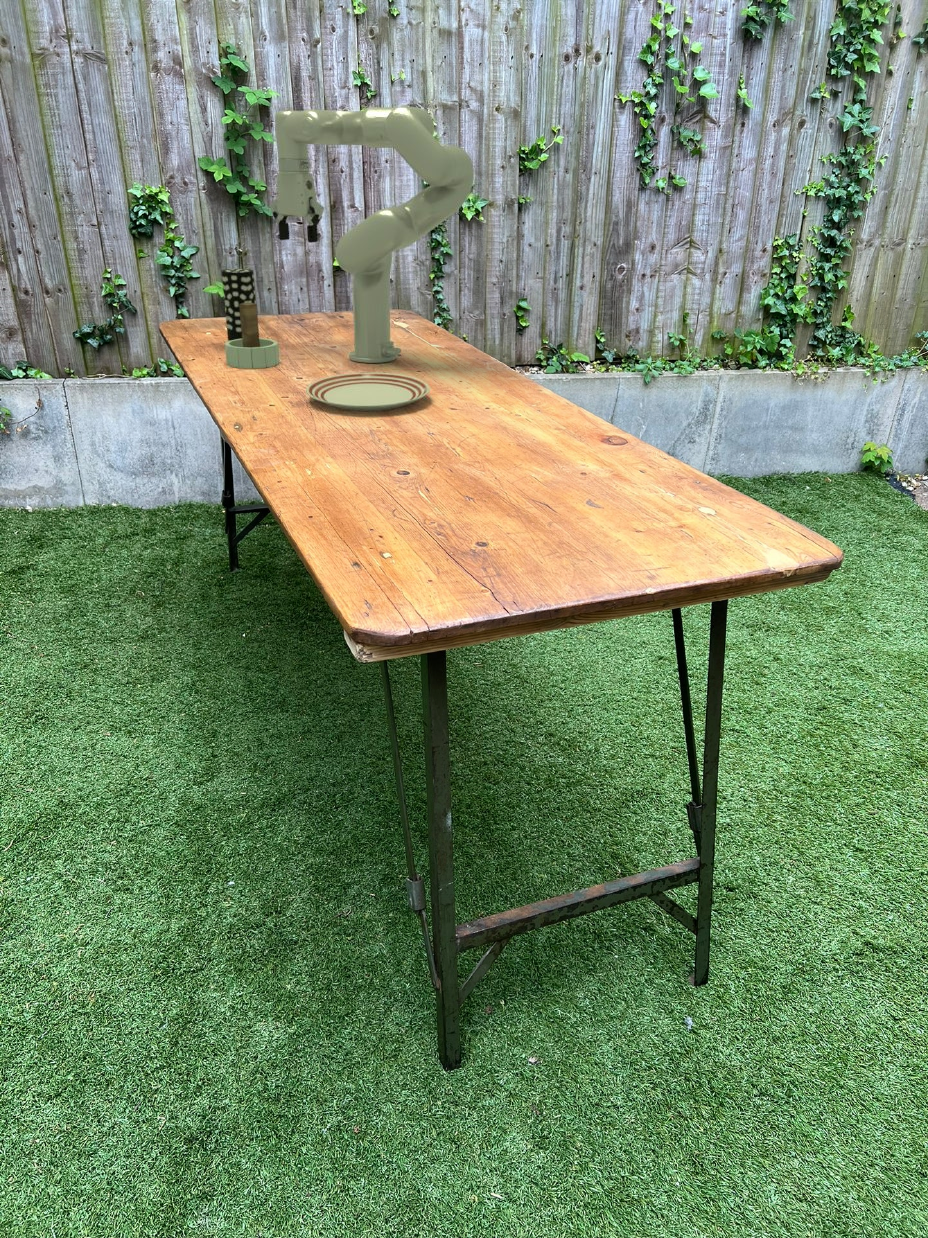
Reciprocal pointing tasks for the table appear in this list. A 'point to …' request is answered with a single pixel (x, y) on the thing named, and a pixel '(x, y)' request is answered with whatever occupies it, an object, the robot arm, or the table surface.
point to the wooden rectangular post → (249, 325)
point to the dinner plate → (368, 391)
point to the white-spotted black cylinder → (236, 297)
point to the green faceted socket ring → (252, 354)
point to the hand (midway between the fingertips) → (298, 240)
